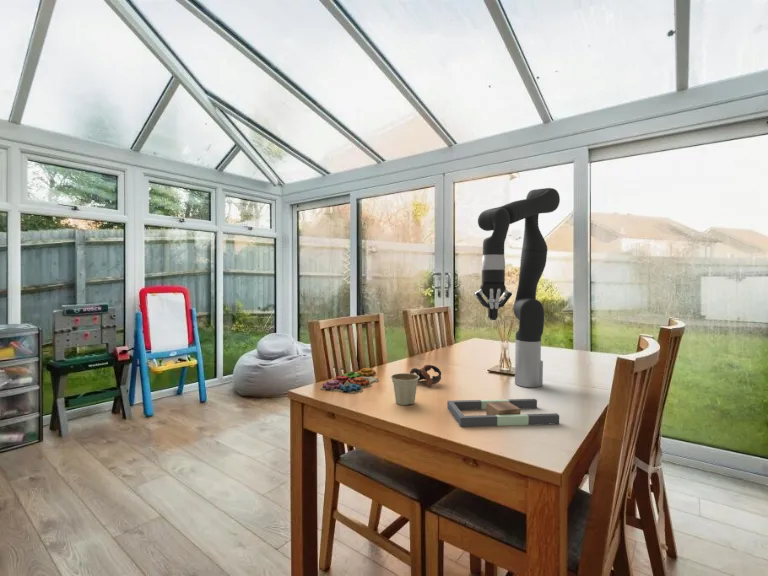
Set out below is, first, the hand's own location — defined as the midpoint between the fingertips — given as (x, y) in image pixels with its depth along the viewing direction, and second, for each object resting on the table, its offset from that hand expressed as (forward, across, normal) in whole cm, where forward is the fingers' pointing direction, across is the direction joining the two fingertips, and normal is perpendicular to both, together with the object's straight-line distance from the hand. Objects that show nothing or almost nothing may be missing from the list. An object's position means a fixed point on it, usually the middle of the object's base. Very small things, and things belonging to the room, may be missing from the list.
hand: (492, 319), depth 134 cm
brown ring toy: (+27, +19, -20) cm, 39 cm away
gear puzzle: (+28, +46, -25) cm, 59 cm away
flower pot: (+27, +30, +2) cm, 41 cm away
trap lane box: (+27, +3, +16) cm, 32 cm away
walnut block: (+27, +3, +18) cm, 33 cm away
